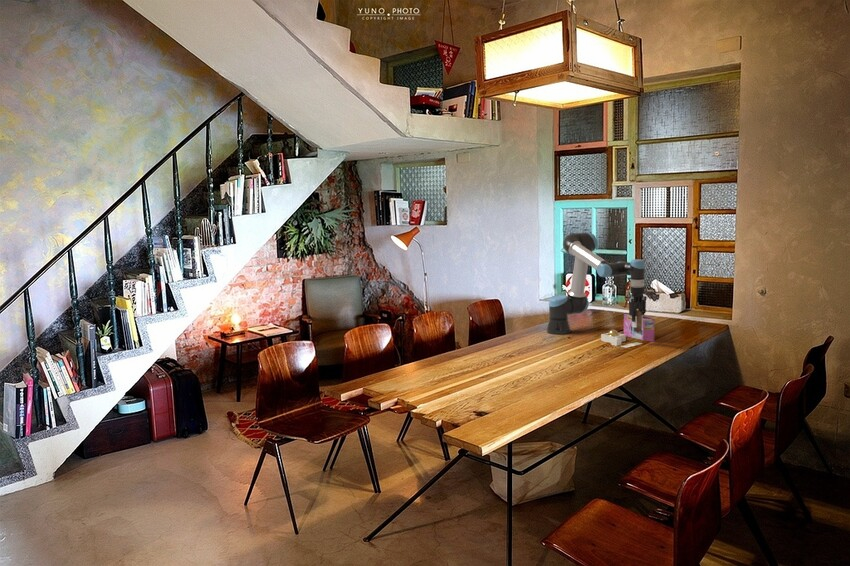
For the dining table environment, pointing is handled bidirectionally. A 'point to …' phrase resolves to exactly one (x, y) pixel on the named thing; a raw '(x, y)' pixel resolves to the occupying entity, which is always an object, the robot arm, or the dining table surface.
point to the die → (616, 341)
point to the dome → (613, 333)
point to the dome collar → (608, 338)
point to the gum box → (647, 328)
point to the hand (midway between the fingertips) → (637, 326)
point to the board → (631, 344)
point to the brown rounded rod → (638, 322)
